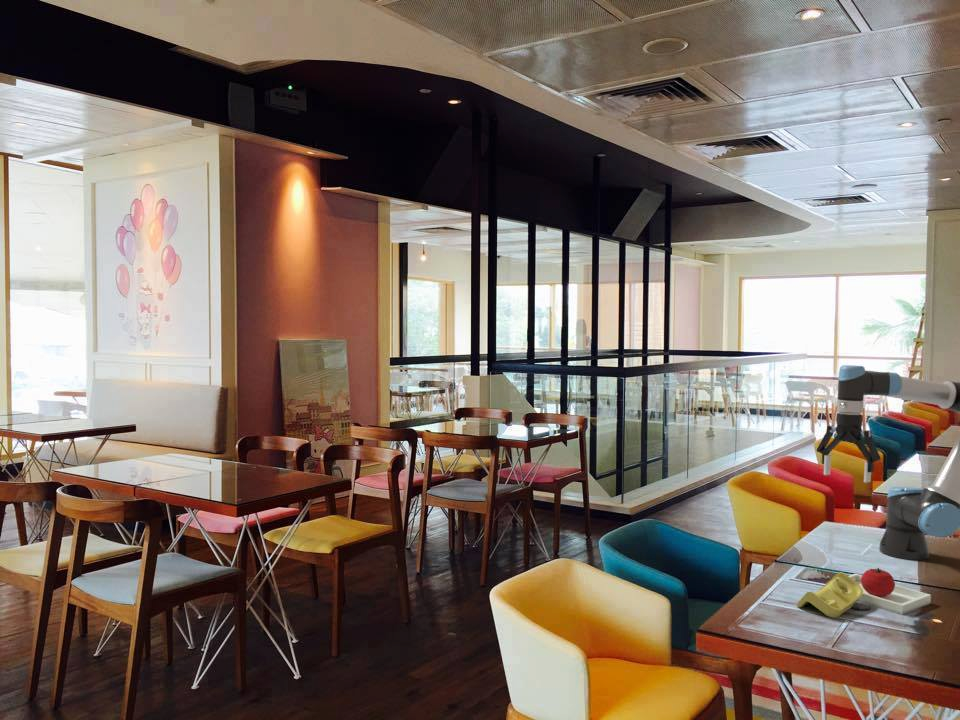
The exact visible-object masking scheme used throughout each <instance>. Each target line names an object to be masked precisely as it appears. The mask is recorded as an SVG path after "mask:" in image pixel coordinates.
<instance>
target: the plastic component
mask: <svg viewBox="0 0 960 720" xmlns="http://www.w3.org/2000/svg"><path fill="white" fill-rule="evenodd" d="M862 594H863V590H862V588H861V586H860V585H859V584H858V583H857V582H856V581H854V580H853V579H852V578H850V577H849V575H848V574H846V573H844V572H837V573H836V574H835V575H834V576H833V577H832V578H831V579H829V580H828V583H827V582H826V584H824V585H823V586H822V587H821V588H819V589H818V590H817V591H816V592H814V591H810V590H809V591H807V592H806V593H805V594H804V595H803V596H802V598H800V600H798V602H797V603H796V607H798V608H803V607H804V606H806V605H808V604H809V603H810V604H811V605H812V606H813V607H815V608H816V609H818V610H819V611H820V612H821V613H823V614H824V615H825V616H827V617H830V618H833V619H835V618H838V617H840V616H842V615H843V614H845V612H847V611H848V610H850V609H851V608H852V607H853V606H854V604H856V603H857V602H859V601H858V600H859V598H860V597H861V596H862Z"/></svg>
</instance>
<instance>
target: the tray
mask: <svg viewBox="0 0 960 720" xmlns="http://www.w3.org/2000/svg"><path fill="white" fill-rule="evenodd" d="M862 575H863V574H858V573H854V574H850V575H848V576H849V577H850V578H852V579H853V580H854V581H856V582H857V583H858V584H859V585H860V586H861V588H862V590H863V594H862V596H861V597H860V598H859V600H858V601H857V602H860V603H863V604H867V605H869V606H873V607H877V608H879V609H884V610H886V611H889V612H891V613H892V612H893V613H895V614H899V615H905V614H908V613H910V612H912V611H915V610H918V609H920V608H923V607H926V606H928V605H930V604H931V599H932V595H931V594H929V593H926V592H922V591H919V590H915V589H912V588H908V587H905V586H901V585H898V584H895V588H894V590H893V592H892V593H891V594H889V595H887V596H884V597H877V596H874V595H871V594H869V593H868V592H867V591H865V590H864V588H863V586H862V583H861V578H862ZM828 582H829V581H828ZM828 582H826V584H827V583H828Z"/></svg>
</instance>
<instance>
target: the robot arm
mask: <svg viewBox="0 0 960 720" xmlns="http://www.w3.org/2000/svg"><path fill="white" fill-rule="evenodd" d="M838 371H839V372H838V378H837V380H838V382H837V383H838V384H837V386H838V387H837V405H836V406H837V408H836V410H837V412H838V413H837V414H836V426H835V425H827V427H826V432H825V434H824V435H823V437H822V439H821V441H820V443H819V445H818V446H817V448H816V452H818V453H820V454H821V464H822V465H823V475H824V476H829V475H831V467H832V466H831V465H832V455H831V454H830V453H831V452H833V450H834V449H835V448H836V446H838V445H839V444H840V443H841V442H847V443H853V444H854V445H855V446H856V447H857V448H858V450H859V451H860V453H861V454H862V455H863V457H864V458H865V460H866V461H864V467H863V468H864V469H863V470H864V472H863V483H871V481H872V479H871V478H872V476H871V475H872V473H874V470H875V469H874V468H875V462H878V461H881V459H882V458H881V456H880V454H879V451H878V448H877V446H876V443H875V442H874V441H875V440H873V435H872V430H871V429H868V430H867V429H866V430H863V429H862V426H863V415H862V413H863V412H864V396H883V397H889V398H894V399H895V398H896V399H901V400H906V401H914V402H918V403H924V404H931V405H936V406H938V407H939V408H941V409H943V410H949V411H953V412H957V413H960V382H958V381H957V382H956V381H949V380H946V381H943V382H937V381H931V380H926V379H919V378H913V377H907V376H901V375H900V374H899V373H898V372H890V371H886V372H885V371H875V370H866V367H864V366H863V365H852V364H851V365H850V364H849V365H848V364H846V365H845V364H844V365H843V364H842V365H841V366H840V367H839V370H838ZM834 433H836V434H837V435H836V436H835V437H834V438H833V440H831V439H832V437H833V435H834ZM861 437H863V438H864V441H865V443H866V445H865V443H864V441H863V439H862V438H861ZM830 441H831V442H830ZM886 500H887V502H886V503H887V504H886V505H887V506H886V527H885V531H884V534H883V535H882V538H881V540H880V543H879V552H880V553H882V554H884V555H886V556H890V557H893V558H899V559H905V560H915V561H920V560H926V559H929V558H930V549H929V545H928V541H927V539H926V538H927V537H926V535H927V536H929V537H930V536H931V537H934V538H942V539H943V538H946V537H950V536H952V535H954V534H955V533H957V531H958V530H959V528H960V435H959V436H958V437H957V439H956V441H955V442H954V444H953V446H952V449H951V450H950V453H948V456H947V457H946V459H945V461H944V462H943V465H942V466H941V468H940V470H939V472H938V473H937V475H936V478H935V479H934V481H933V482H932V484H931V485H928V486H925V487H924V488H921V487H914V486H913V487H912V486H894V487H893V486H892V487H890V488H889V489H888V491H887V497H886Z"/></svg>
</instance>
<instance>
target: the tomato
mask: <svg viewBox="0 0 960 720" xmlns="http://www.w3.org/2000/svg"><path fill="white" fill-rule="evenodd" d="M861 575H862V578H861V583H862V586H863V588H864V590H865V591H867V592H868V593H869V594H871V595H874V596H877V597H884V596H887V595H889V594H891V593H892V592H893V590H894V588H895V585H896V581H895V579H894V578H893V575H892V574H891V573H890V572H888V571H886V570H883V569H882V568H881V569H880V568H879V567H877V568H869V569H867V570H865V571H864V572H863V574H861Z"/></svg>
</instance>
